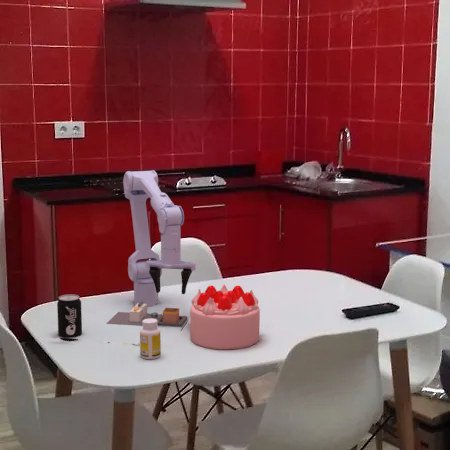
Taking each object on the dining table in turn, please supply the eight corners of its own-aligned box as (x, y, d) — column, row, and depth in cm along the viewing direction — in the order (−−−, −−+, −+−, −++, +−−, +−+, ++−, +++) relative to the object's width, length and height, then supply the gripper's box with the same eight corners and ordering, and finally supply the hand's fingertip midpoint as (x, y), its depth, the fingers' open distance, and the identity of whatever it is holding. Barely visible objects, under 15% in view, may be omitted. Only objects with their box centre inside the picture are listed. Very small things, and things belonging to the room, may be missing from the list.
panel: (118, 315, 236) (118, 310, 236) (162, 318, 234) (162, 312, 234) (106, 327, 225) (106, 321, 224) (152, 330, 223) (152, 324, 222)
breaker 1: (137, 312, 236) (137, 301, 235) (147, 313, 235) (147, 301, 235) (134, 316, 232) (134, 304, 231) (143, 316, 231) (143, 305, 231)
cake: (189, 350, 206) (189, 299, 204) (191, 327, 226) (191, 280, 223) (261, 350, 207) (262, 300, 204) (257, 327, 226) (257, 281, 224)
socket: (161, 321, 231) (161, 314, 231) (187, 322, 230) (187, 316, 230) (154, 329, 223) (154, 322, 223) (181, 330, 222) (181, 324, 222)
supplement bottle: (161, 352, 204) (160, 317, 202) (160, 359, 199) (159, 323, 197) (141, 352, 204) (140, 317, 202) (139, 359, 199) (138, 323, 197)
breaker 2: (133, 317, 231) (133, 305, 230) (143, 317, 230) (142, 306, 230) (129, 321, 227) (129, 309, 226) (139, 321, 226) (139, 310, 226)
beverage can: (59, 342, 211) (57, 301, 209) (57, 335, 217) (56, 294, 215) (83, 340, 213) (82, 299, 211) (81, 333, 219) (79, 293, 217)
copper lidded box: (165, 323, 229) (165, 307, 228) (179, 324, 228) (179, 308, 228) (162, 327, 225) (162, 311, 224) (176, 328, 224) (176, 312, 223)
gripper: (143, 249, 220) (143, 294, 222) (192, 251, 217) (192, 297, 220) (149, 244, 226) (149, 288, 229) (197, 246, 224) (197, 291, 227)
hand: (170, 292), depth 225 cm, fingers open, 7 cm apart
